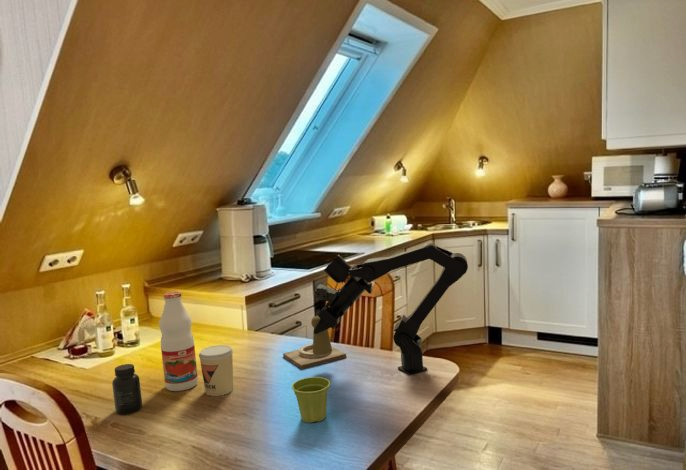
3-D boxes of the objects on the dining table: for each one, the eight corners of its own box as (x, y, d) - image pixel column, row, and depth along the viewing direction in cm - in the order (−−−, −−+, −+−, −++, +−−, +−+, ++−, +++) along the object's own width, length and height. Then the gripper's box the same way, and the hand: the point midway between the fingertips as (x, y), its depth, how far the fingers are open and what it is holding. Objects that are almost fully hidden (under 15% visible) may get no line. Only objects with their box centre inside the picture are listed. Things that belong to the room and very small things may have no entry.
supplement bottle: (122, 404, 152) (117, 363, 150) (146, 403, 151) (141, 361, 150) (111, 416, 145) (105, 372, 143) (136, 414, 145) (131, 371, 143)
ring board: (346, 357, 178) (345, 350, 177) (301, 369, 170) (301, 361, 170) (326, 346, 190) (325, 339, 190) (283, 356, 182) (282, 349, 182)
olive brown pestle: (335, 349, 169) (332, 314, 168) (326, 355, 164) (323, 319, 163) (318, 347, 172) (315, 313, 171) (308, 353, 167) (305, 318, 165)
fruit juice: (195, 377, 169) (186, 287, 166) (201, 387, 161) (191, 293, 157) (163, 383, 165) (153, 292, 162) (167, 394, 157) (157, 298, 153)
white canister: (196, 392, 157) (192, 351, 156) (223, 381, 164) (219, 342, 162) (215, 400, 151) (210, 358, 149) (242, 388, 157) (239, 348, 156)
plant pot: (318, 429, 130) (315, 394, 129) (286, 422, 135) (284, 388, 134) (339, 413, 138) (337, 380, 137) (309, 406, 143) (306, 374, 142)
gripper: (335, 269, 174) (304, 304, 177) (321, 282, 155) (288, 321, 159) (361, 293, 173) (330, 327, 176) (351, 308, 155) (316, 347, 158)
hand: (316, 330), depth 168 cm, fingers closed on olive brown pestle, 5 cm apart
